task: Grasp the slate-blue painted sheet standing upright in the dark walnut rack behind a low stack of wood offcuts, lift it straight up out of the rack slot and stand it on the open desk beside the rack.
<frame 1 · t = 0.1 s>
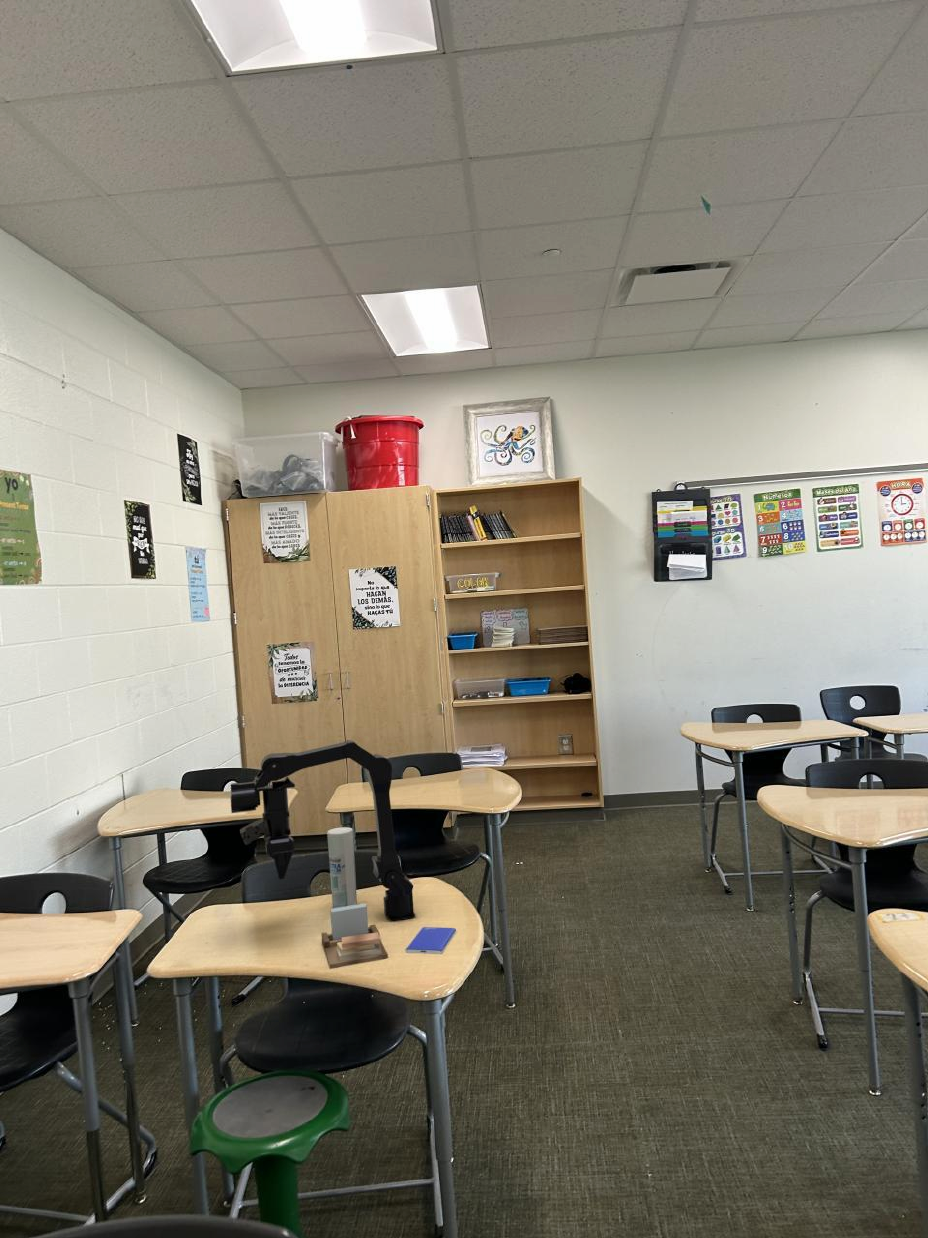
hand: (280, 873, 192), 15 cm above the table, fingers open, 9 cm apart
spray can: (345, 909, 208), on the table
hard drive: (431, 945, 181), on the table
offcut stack: (359, 957, 175), resting on rack
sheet: (350, 943, 184), resting in rack
rack: (350, 942, 184), on the table
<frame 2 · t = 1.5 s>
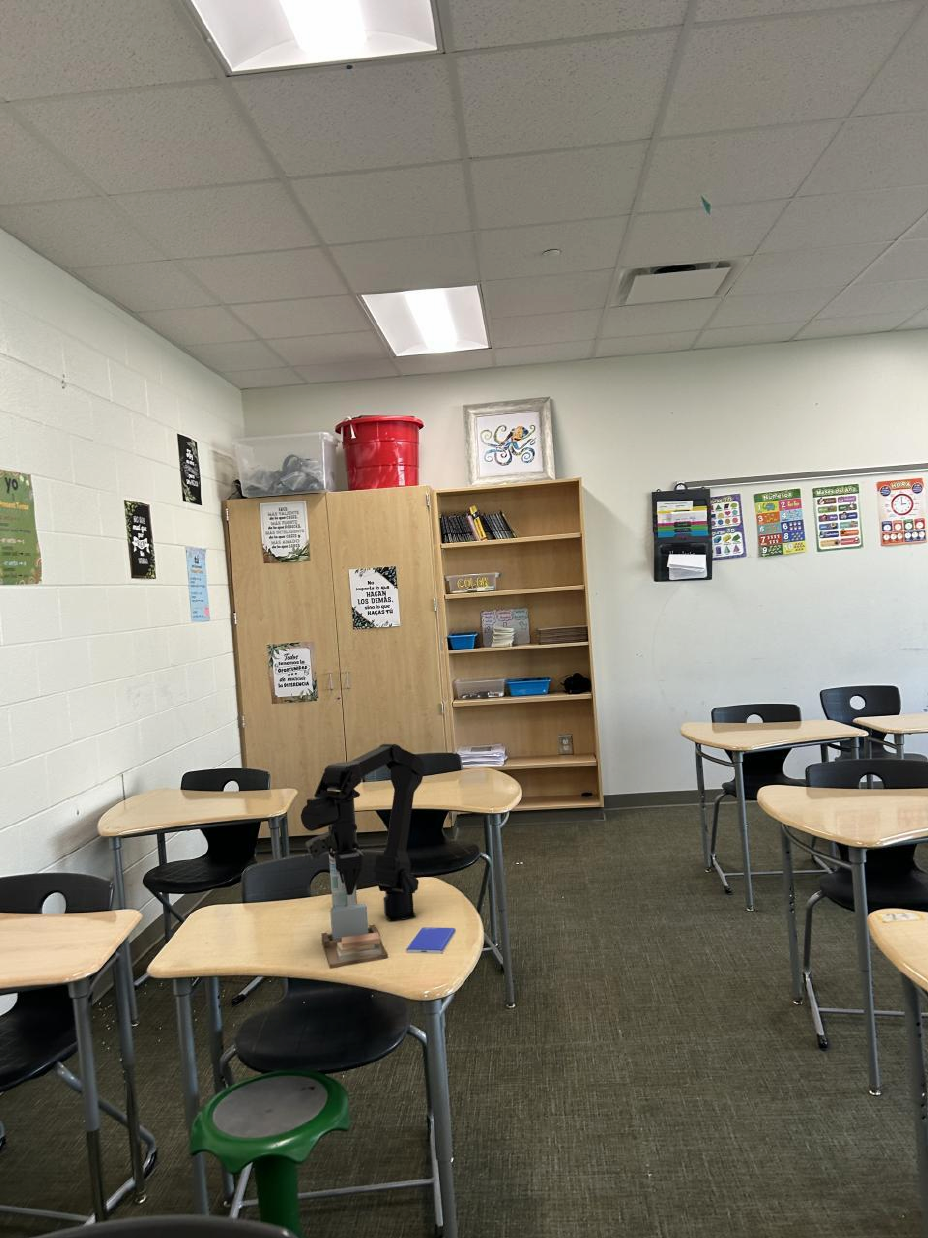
hand: (346, 888, 185), 12 cm above the table, fingers open, 9 cm apart
nothing on the table moved.
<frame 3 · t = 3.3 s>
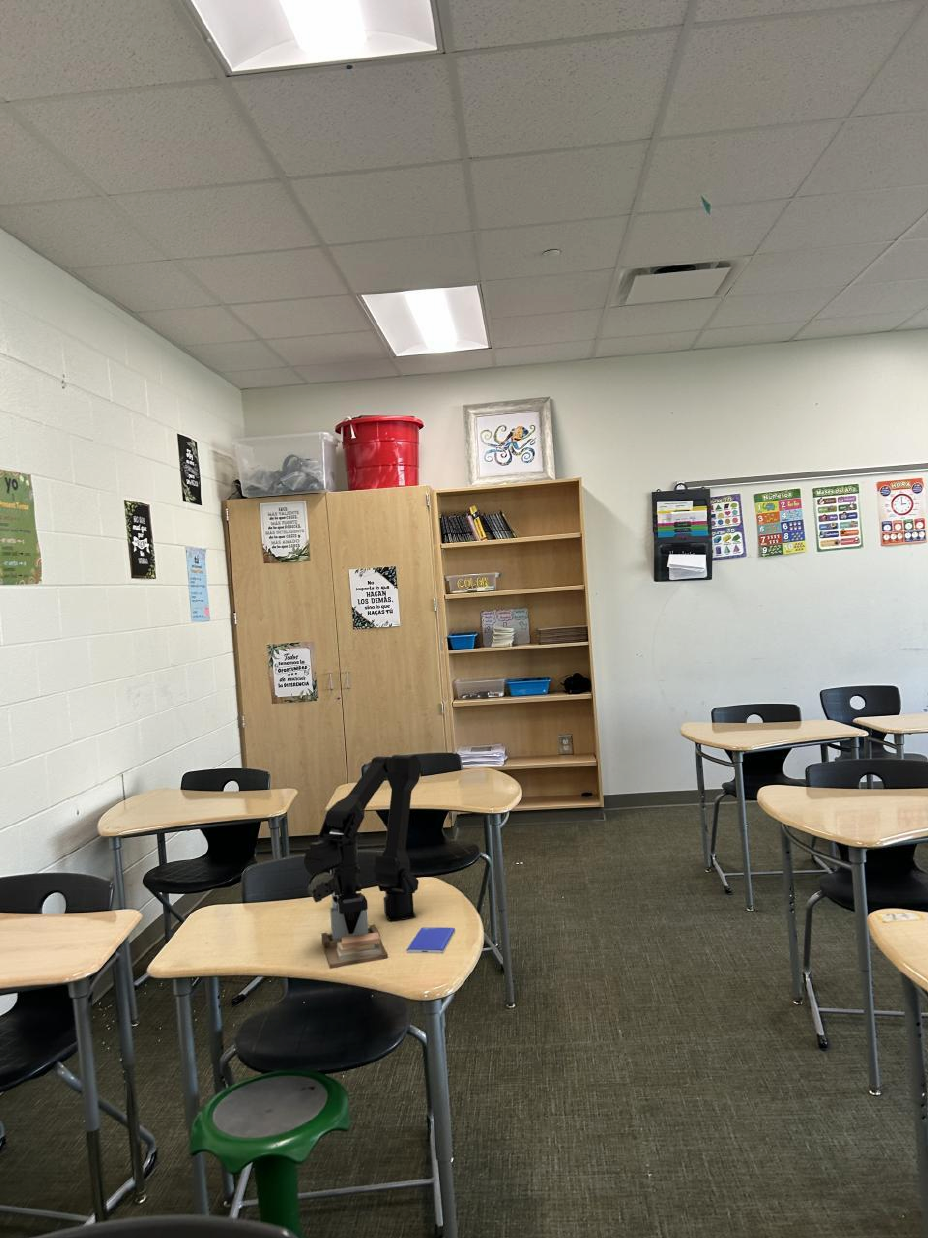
hand: (350, 931, 184), 3 cm above the table, fingers closed on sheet, 2 cm apart
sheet: (350, 942, 184), resting in rack, touching gripper
everything else where it was.
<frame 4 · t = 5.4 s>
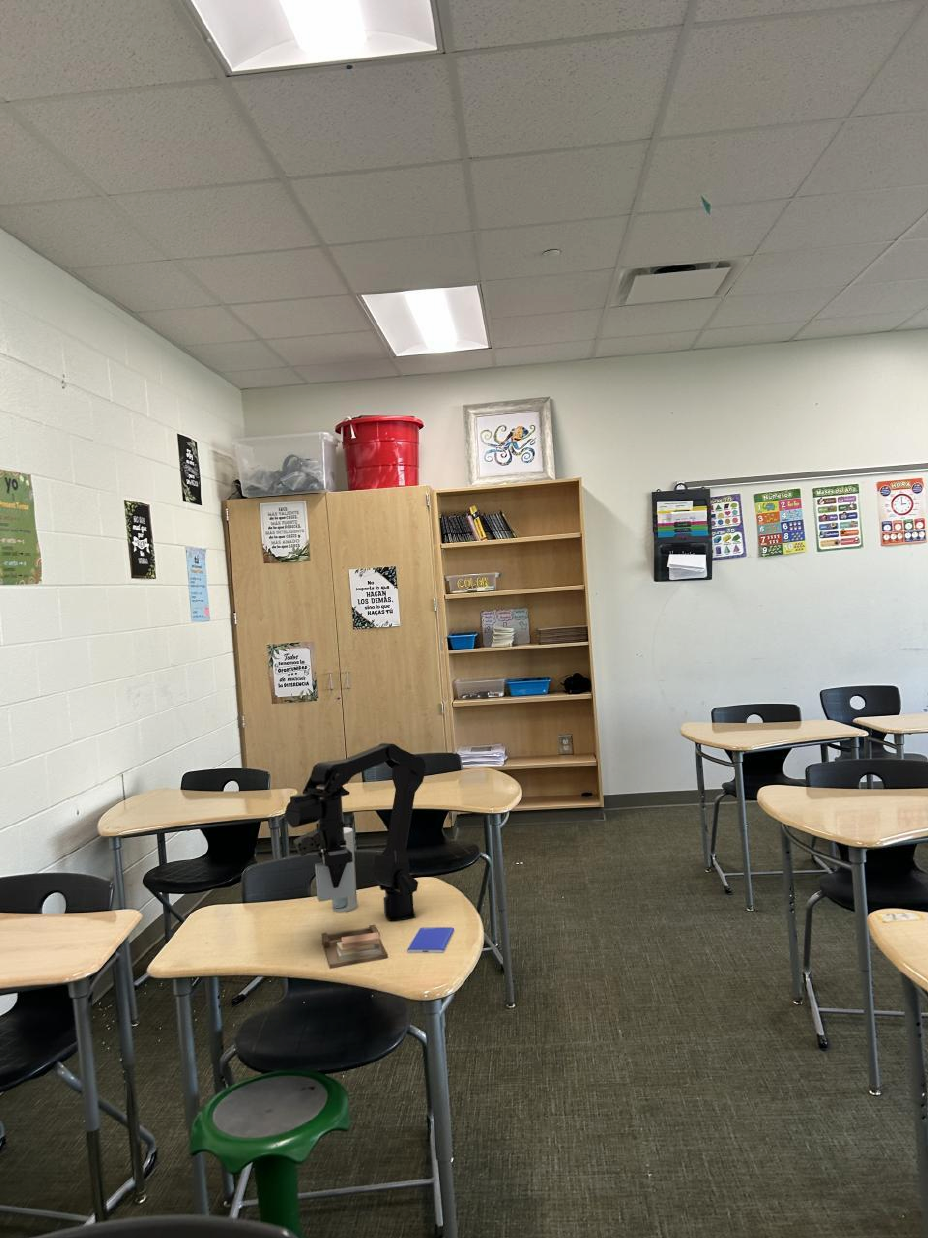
hand: (334, 886, 186), 13 cm above the table, fingers closed on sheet, 2 cm apart
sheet: (335, 897, 186), point 10 cm above the table, touching gripper
everything else where it was.
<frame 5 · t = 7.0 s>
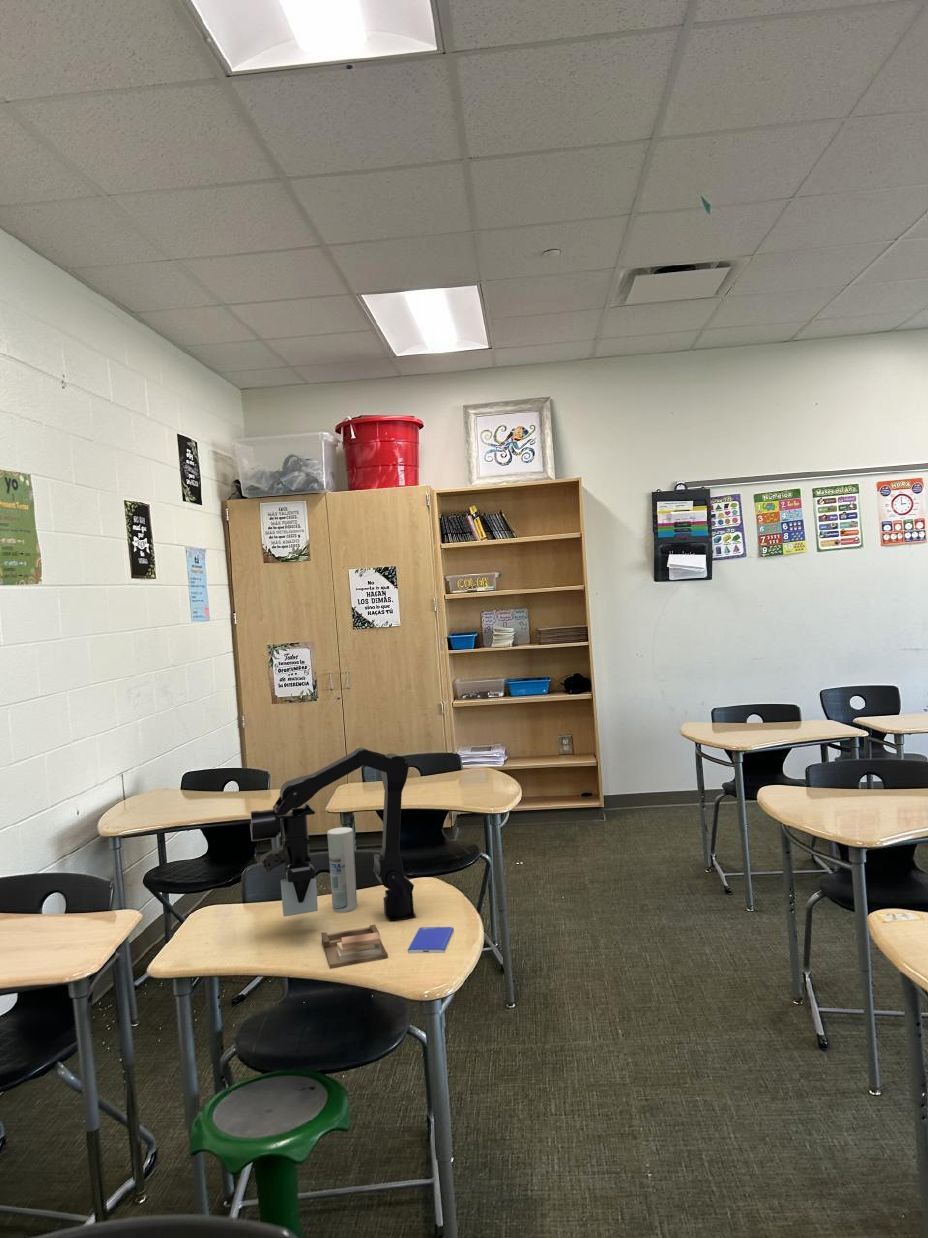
hand: (300, 900, 192), 8 cm above the table, fingers closed on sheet, 2 cm apart
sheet: (300, 912, 192), point 5 cm above the table, touching gripper
everything else where it was.
when the fingers open (3 cm above the table, at t = 8.0 s): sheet stays where it is, on the table.
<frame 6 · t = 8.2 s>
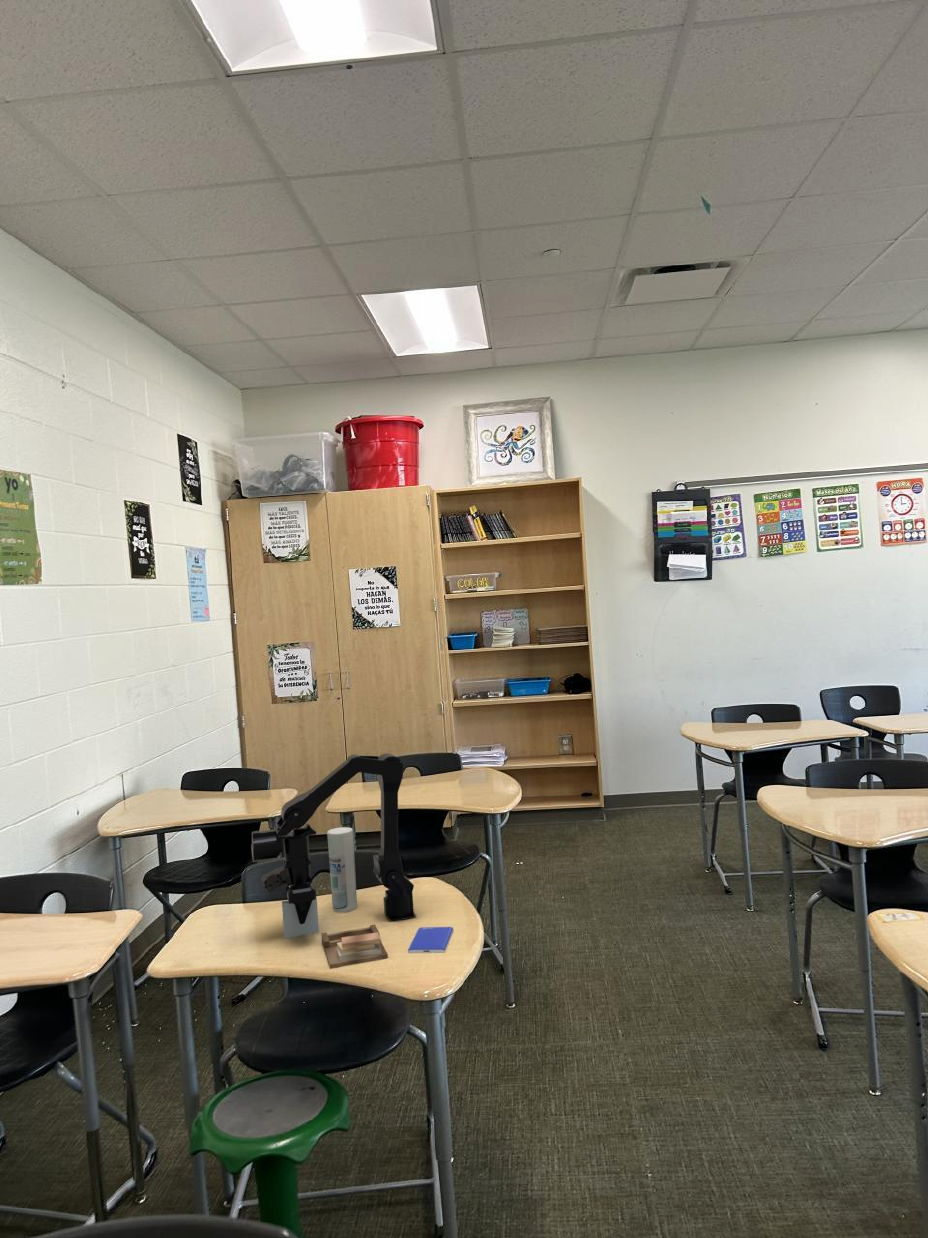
hand: (301, 921, 192), 3 cm above the table, fingers open, 4 cm apart
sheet: (301, 934, 192), on the table
everything else where it was.
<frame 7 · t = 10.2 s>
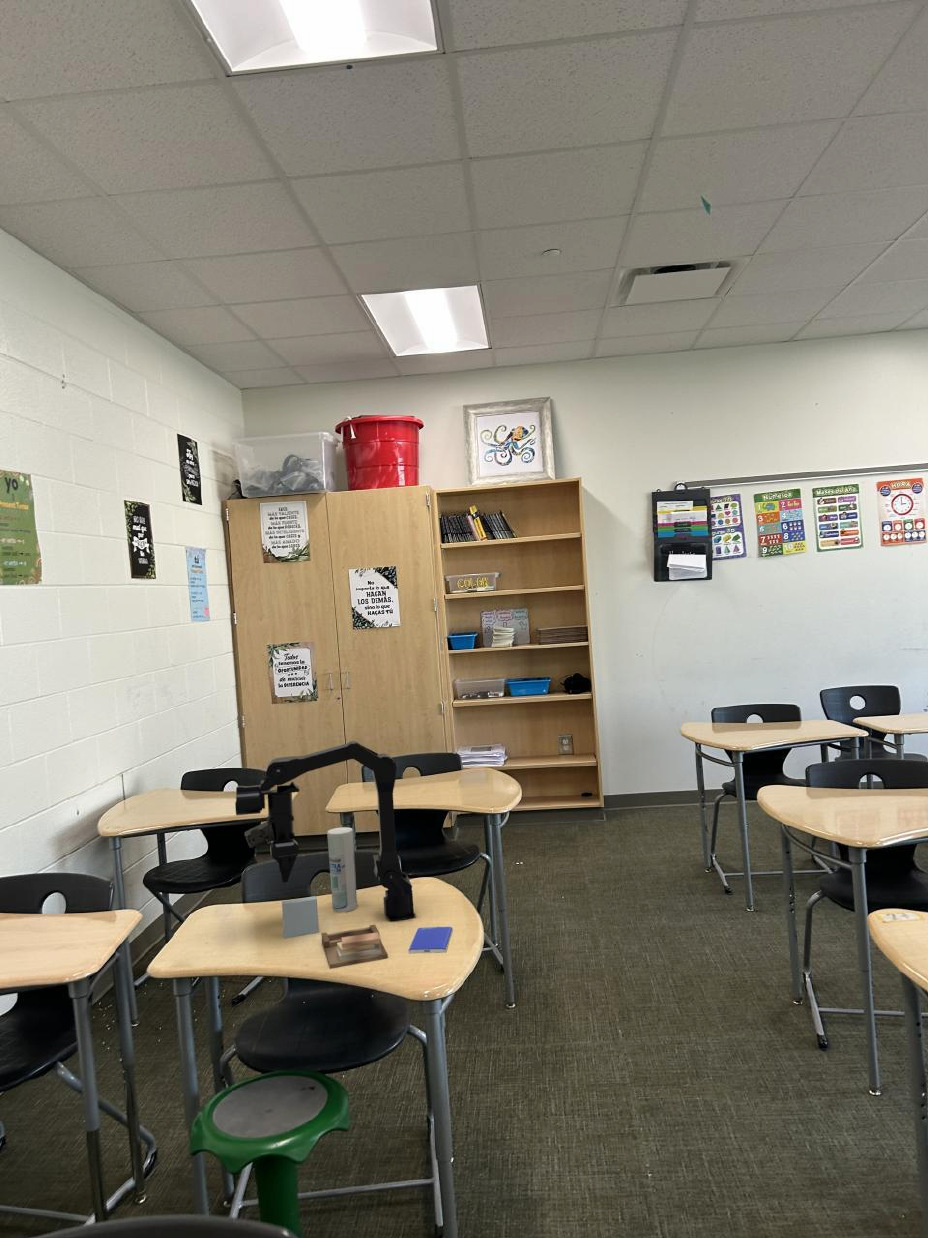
hand: (283, 876, 194), 13 cm above the table, fingers open, 9 cm apart
nothing on the table moved.
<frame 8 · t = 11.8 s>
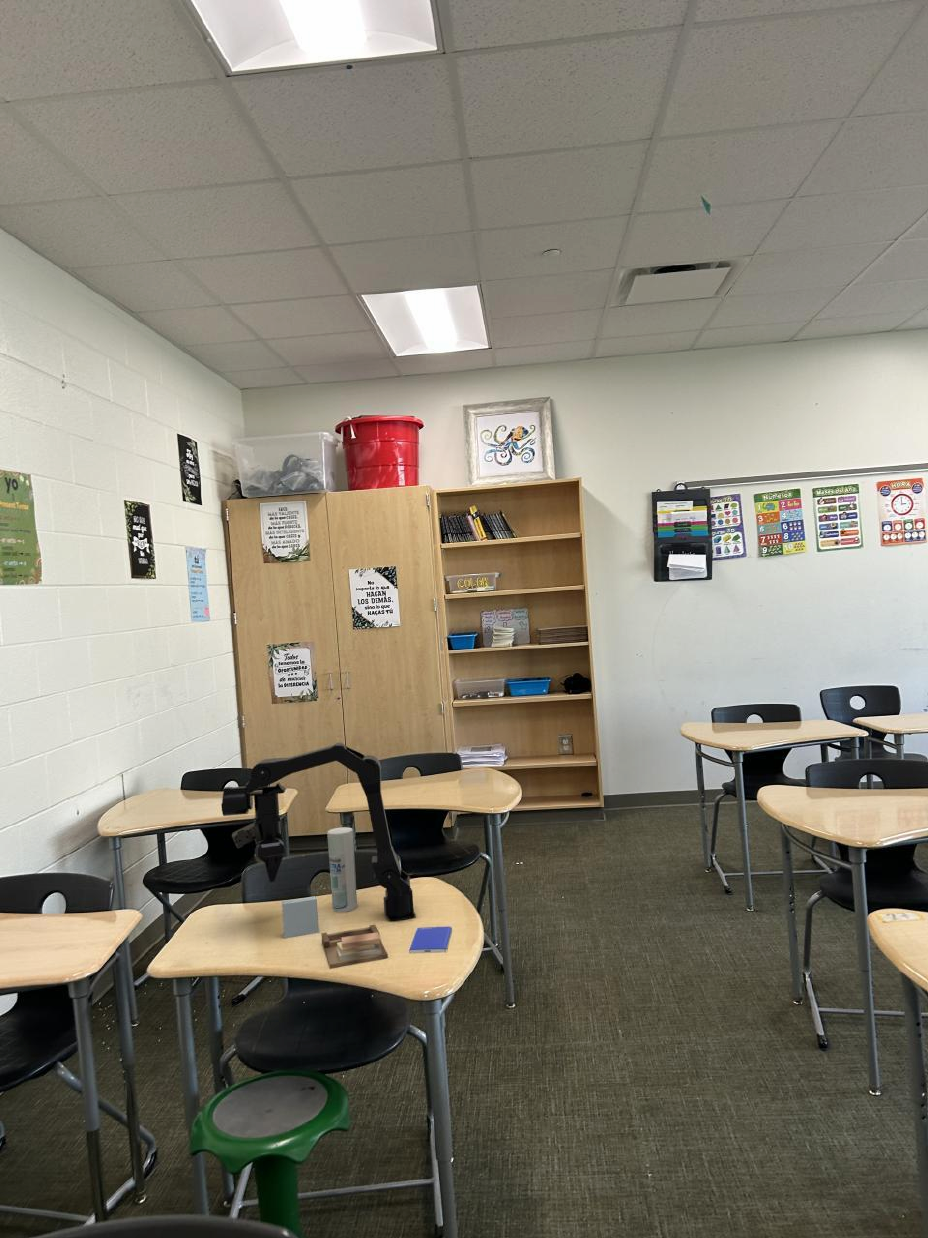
hand: (271, 876, 197), 12 cm above the table, fingers open, 9 cm apart
nothing on the table moved.
at the end: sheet inside the target area (0.1 cm from its centre), on the table; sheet touching table; the gripper is holding nothing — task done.
